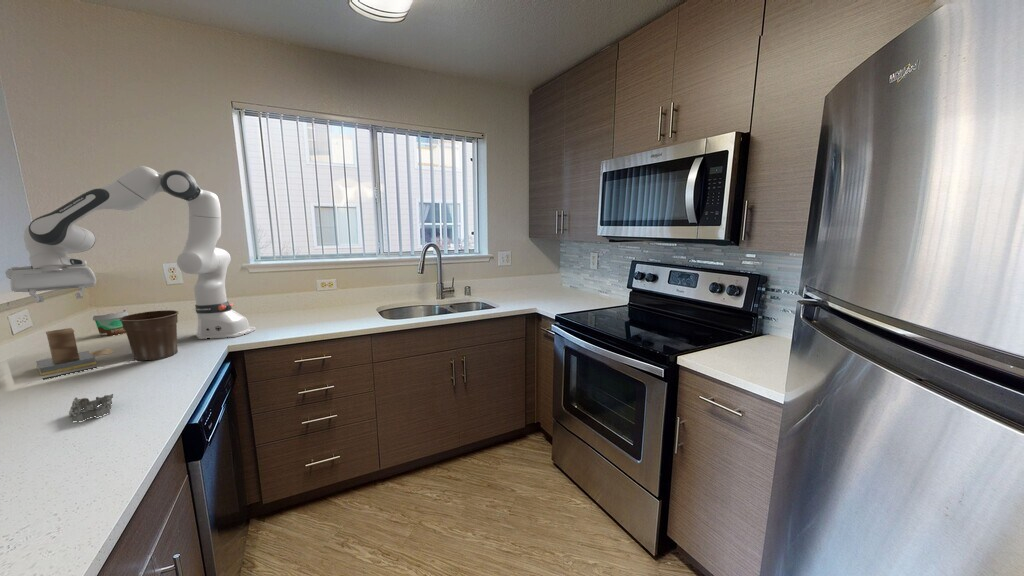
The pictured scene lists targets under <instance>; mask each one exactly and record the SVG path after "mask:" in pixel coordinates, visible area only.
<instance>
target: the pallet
mask: <svg viewBox="0 0 1024 576" xmlns="http://www.w3.org/2000/svg"><path fill="white" fill-rule="evenodd" d="M89 353H91V354H92V355H93V356H94V357H99V356H103V355H107V354H108V355H109V354H114V353H115V351H113V350H112V349H111V348H106V349H102V350H96V351H91V352H89Z"/></svg>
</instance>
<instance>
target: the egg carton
mask: <svg viewBox="0 0 1024 576" xmlns="http://www.w3.org/2000/svg"><path fill="white" fill-rule="evenodd" d="M113 398H114V393H112V394H105V395H104V396H96V397H95V399H94V400H90V399H89V398H87V397H84V398H83V397H81V398H78V397H74V399H73V400H72V403H71V406H70V409H69V411H68V416H69V417H68V418H71V423H72V422H73V421H77V422H79V421H83V420H85V419H87V418H90V417H94V416H96V417H99V416H103V415H104V414H107V413H110V414H111V410H112V409H111V408H112V405H111V404H112V403H113V400H112V399H113ZM100 404H102V405H101V406H99V407H97V406H98V405H100ZM83 408H85V409H83ZM81 409H83V410H82V411H81ZM110 409H111V410H110Z"/></svg>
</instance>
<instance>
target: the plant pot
mask: <svg viewBox="0 0 1024 576" xmlns="http://www.w3.org/2000/svg"><path fill="white" fill-rule="evenodd" d="M179 313H180V312H179V311H178V310H175V309H169V310H168V309H165V310H151V311H144V312H138V313H132V314H129V315H127V316H123V317H121V318H119V320H120V321H121V322H122V325H123V328H124V330H126V333H125V334H126V336H127V340H128V342H129V345H130V349H131V353H132V355H133V358H134V360H135V361H138V362H145V361H147V360H148V361H156V360H162V359H165V358H169V357H172V356H174V355H175V354H177V353H178V352H179V351H178V333H177V332H178V328H177V323H178V322H179V321H178V315H179Z"/></svg>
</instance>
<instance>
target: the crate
mask: <svg viewBox="0 0 1024 576" xmlns="http://www.w3.org/2000/svg"><path fill="white" fill-rule="evenodd" d="M45 334H46V337H47V341H48V342H47V343H48V347H49V350H50V355H51V358H52V360H53V361H54V363H58V362H63V361H68V360H73V359H78V358H79V355H78V353H79V351H78V346H77V341H76V337H75V336H76V335H75V330H74V329H73V328H72V327H68V328H62V329H56V330H54V329H53V330H48V331H45Z"/></svg>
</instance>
